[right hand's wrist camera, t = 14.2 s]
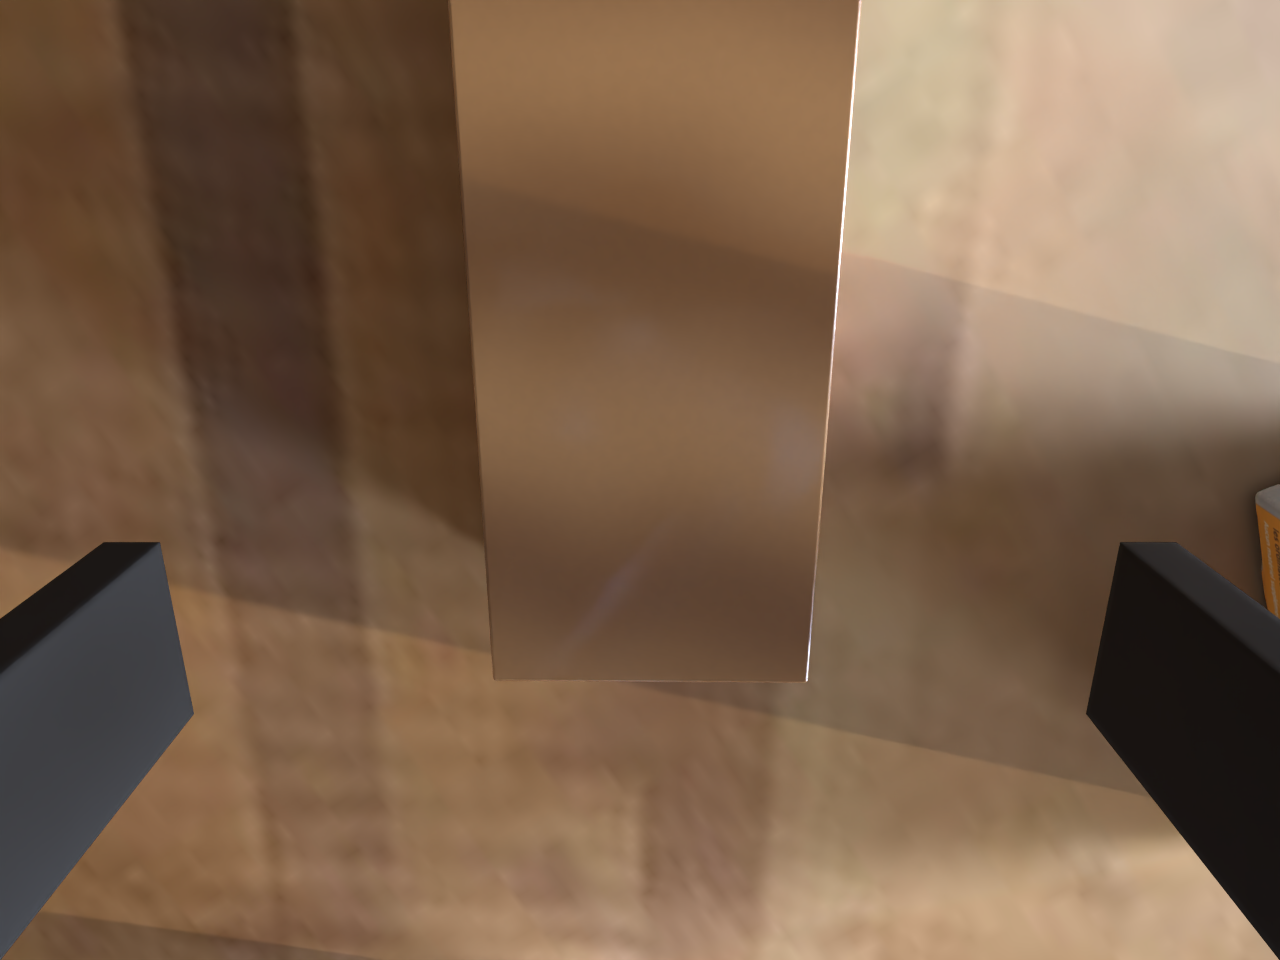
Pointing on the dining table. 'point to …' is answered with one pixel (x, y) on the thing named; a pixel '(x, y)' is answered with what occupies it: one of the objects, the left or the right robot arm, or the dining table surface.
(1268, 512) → the hard drive box
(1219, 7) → the dining table surface
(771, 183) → the beam
